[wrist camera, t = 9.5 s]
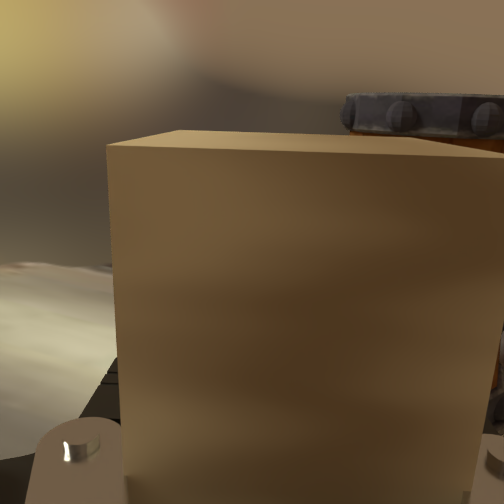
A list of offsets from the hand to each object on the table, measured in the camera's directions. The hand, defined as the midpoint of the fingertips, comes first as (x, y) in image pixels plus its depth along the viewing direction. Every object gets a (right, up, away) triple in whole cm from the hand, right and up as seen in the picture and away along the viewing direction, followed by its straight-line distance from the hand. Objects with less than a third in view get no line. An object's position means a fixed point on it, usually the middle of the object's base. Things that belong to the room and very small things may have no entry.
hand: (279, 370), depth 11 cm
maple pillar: (0, -7, -1) cm, 7 cm away
